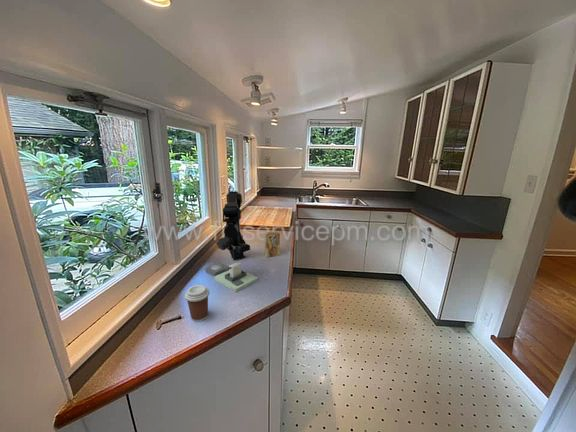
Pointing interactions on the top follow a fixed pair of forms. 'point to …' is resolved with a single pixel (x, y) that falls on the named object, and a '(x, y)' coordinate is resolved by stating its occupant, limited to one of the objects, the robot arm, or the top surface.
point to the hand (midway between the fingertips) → (234, 260)
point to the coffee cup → (198, 302)
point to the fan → (216, 269)
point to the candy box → (272, 244)
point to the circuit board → (236, 280)
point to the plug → (234, 269)
